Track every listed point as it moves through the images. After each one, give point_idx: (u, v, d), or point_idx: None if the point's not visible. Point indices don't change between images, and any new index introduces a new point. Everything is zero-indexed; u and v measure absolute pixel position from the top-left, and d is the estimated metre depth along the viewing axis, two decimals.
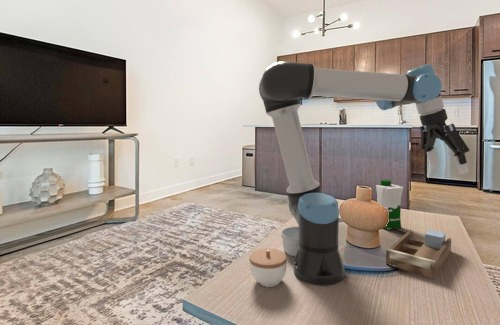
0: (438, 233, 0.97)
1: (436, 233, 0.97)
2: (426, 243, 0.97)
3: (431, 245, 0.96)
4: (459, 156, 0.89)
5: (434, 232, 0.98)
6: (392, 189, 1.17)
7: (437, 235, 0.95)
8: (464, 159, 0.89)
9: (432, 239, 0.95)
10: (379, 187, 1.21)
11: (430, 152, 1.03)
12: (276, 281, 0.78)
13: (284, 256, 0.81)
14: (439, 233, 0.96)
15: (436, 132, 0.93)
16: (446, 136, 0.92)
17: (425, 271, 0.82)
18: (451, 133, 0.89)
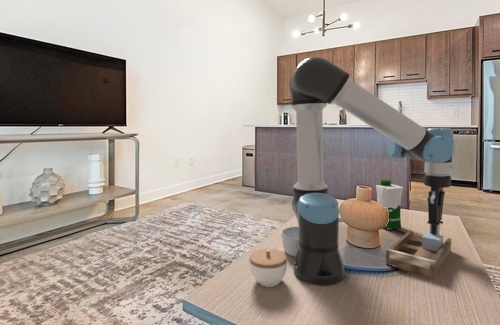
0: (435, 236, 0.95)
1: (434, 236, 0.95)
2: (423, 246, 0.94)
3: (429, 248, 0.93)
4: None
5: (432, 235, 0.96)
6: (392, 189, 1.17)
7: (435, 238, 0.93)
8: (434, 230, 0.95)
9: (430, 242, 0.93)
10: (379, 187, 1.21)
11: None
12: (276, 281, 0.78)
13: (284, 256, 0.81)
14: (436, 236, 0.94)
15: None
16: None
17: (425, 271, 0.82)
18: (430, 205, 0.92)
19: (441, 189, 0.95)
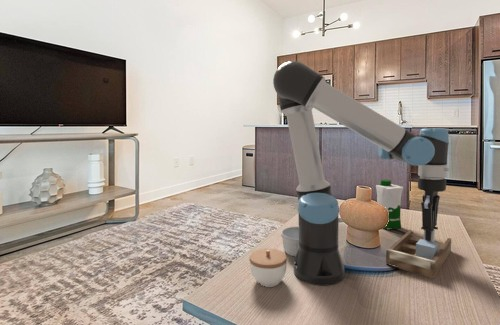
0: (430, 242, 0.89)
1: (428, 243, 0.89)
2: (417, 254, 0.89)
3: (423, 256, 0.88)
4: None
5: (426, 241, 0.90)
6: (392, 189, 1.17)
7: (429, 245, 0.88)
8: (428, 236, 0.90)
9: (424, 249, 0.88)
10: (379, 187, 1.21)
11: None
12: (276, 281, 0.78)
13: (284, 256, 0.81)
14: (431, 243, 0.89)
15: None
16: None
17: (425, 271, 0.82)
18: (424, 210, 0.87)
19: (436, 193, 0.90)
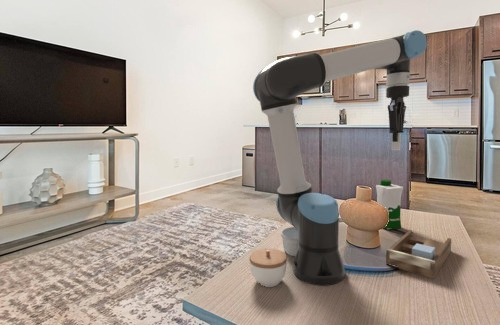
0: (427, 247, 0.86)
1: (424, 247, 0.86)
2: None
3: None
4: None
5: (422, 246, 0.87)
6: (392, 189, 1.17)
7: (425, 250, 0.84)
8: (395, 137, 1.04)
9: (420, 254, 0.84)
10: (379, 187, 1.21)
11: None
12: (276, 281, 0.78)
13: (284, 256, 0.81)
14: (427, 248, 0.86)
15: None
16: None
17: (425, 271, 0.82)
18: (390, 113, 1.02)
19: (401, 100, 1.05)
